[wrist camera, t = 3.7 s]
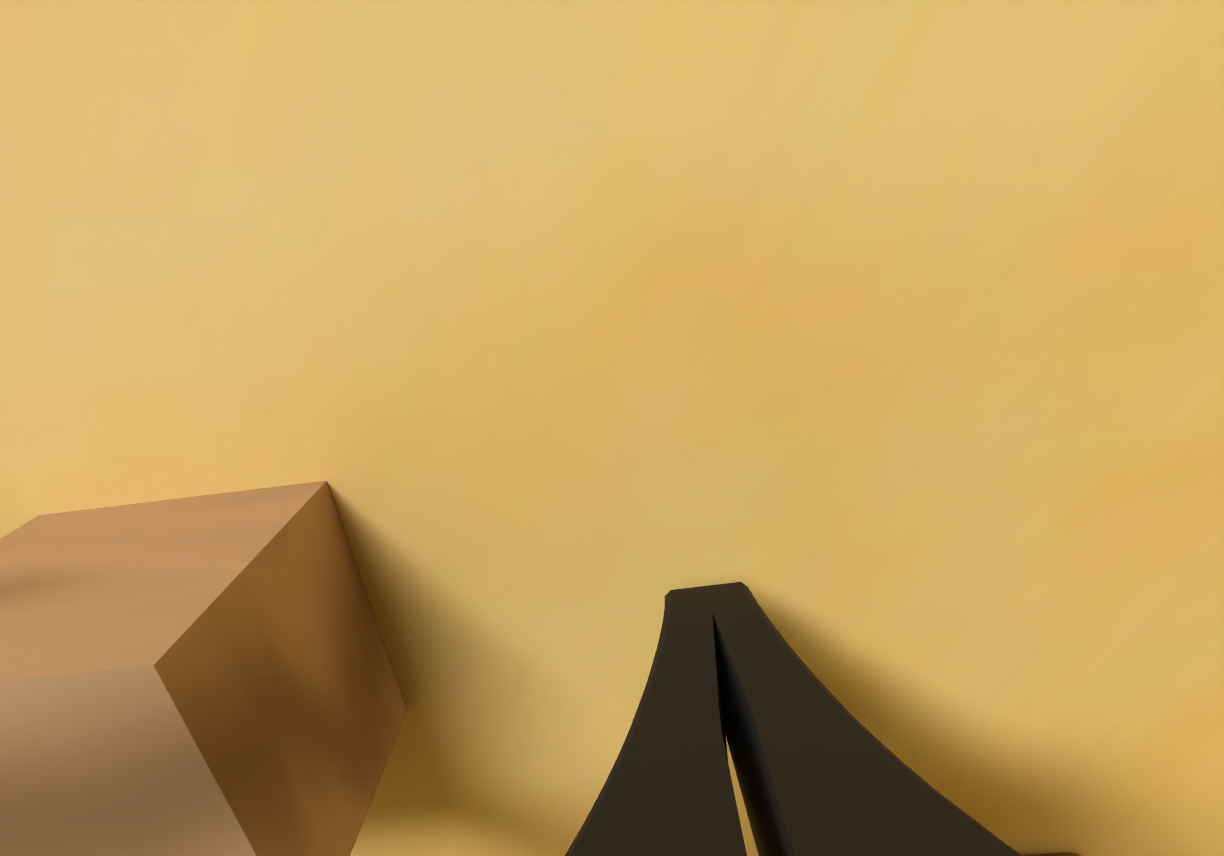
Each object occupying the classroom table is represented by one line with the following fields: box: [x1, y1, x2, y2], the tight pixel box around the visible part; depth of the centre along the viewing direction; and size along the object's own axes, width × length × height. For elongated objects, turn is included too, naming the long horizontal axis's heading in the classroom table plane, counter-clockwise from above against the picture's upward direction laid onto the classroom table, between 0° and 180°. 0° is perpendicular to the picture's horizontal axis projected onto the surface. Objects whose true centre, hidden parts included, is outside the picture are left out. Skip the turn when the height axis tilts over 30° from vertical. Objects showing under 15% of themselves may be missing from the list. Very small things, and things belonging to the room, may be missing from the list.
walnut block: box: [0, 481, 407, 856], centre depth 11 cm, size 6×6×5 cm
